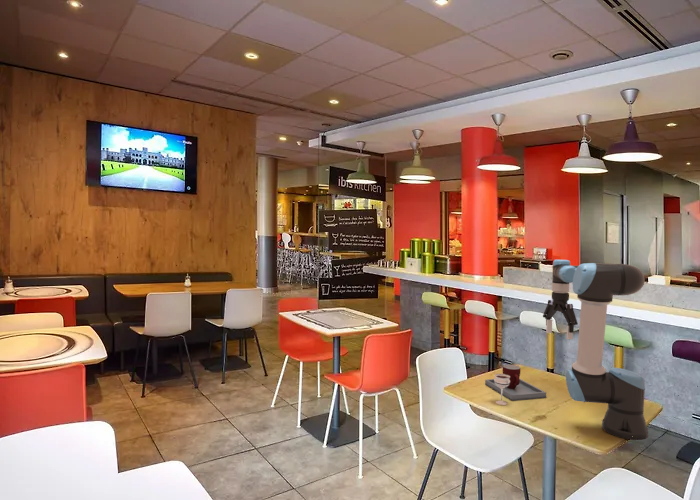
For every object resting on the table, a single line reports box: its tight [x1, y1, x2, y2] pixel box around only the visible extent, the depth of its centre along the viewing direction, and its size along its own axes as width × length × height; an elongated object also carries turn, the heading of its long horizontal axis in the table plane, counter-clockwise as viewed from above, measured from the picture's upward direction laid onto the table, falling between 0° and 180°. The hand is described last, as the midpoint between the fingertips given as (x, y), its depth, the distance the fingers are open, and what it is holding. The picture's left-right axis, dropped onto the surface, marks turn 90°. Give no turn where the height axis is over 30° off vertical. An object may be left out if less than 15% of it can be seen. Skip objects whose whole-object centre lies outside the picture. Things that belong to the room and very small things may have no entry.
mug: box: [502, 364, 521, 389], centre depth 218 cm, size 11×8×10 cm
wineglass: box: [493, 373, 510, 406], centre depth 201 cm, size 7×7×12 cm
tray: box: [484, 377, 547, 402], centre depth 216 cm, size 22×18×2 cm
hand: (558, 336), depth 218 cm, fingers open, 13 cm apart
